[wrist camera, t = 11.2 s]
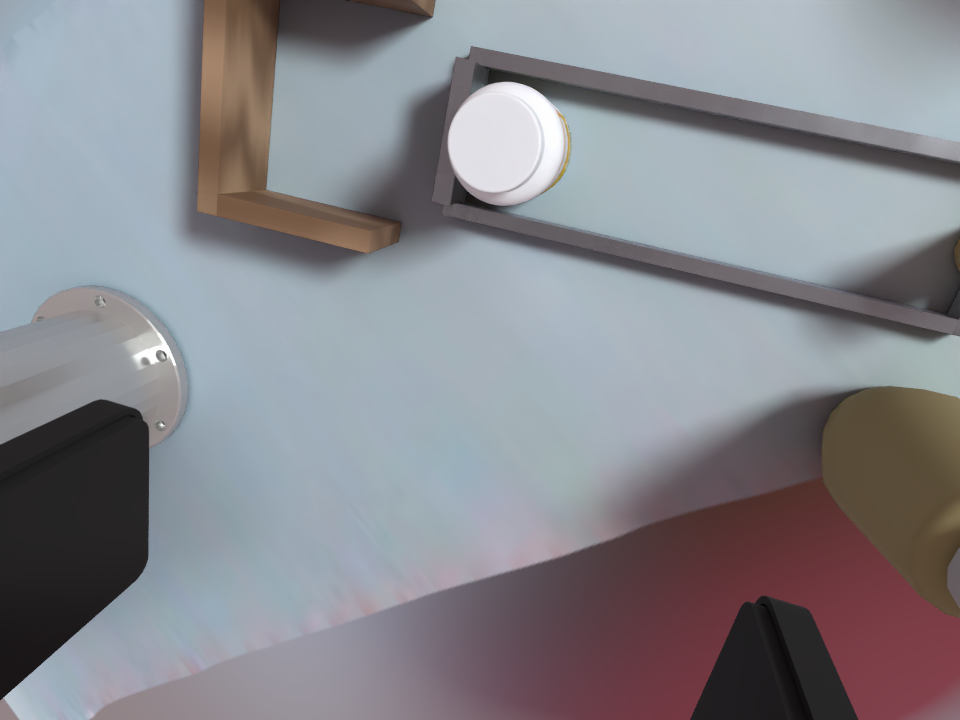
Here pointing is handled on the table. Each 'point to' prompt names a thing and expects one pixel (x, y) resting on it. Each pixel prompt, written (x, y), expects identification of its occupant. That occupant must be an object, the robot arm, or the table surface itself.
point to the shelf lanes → (264, 130)
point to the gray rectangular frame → (475, 77)
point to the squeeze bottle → (901, 482)
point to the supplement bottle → (508, 144)
